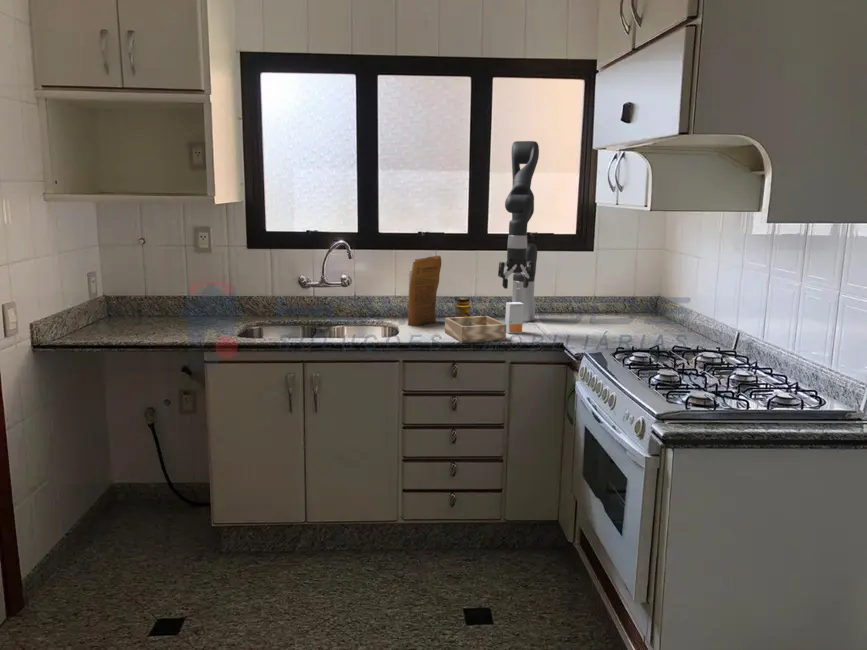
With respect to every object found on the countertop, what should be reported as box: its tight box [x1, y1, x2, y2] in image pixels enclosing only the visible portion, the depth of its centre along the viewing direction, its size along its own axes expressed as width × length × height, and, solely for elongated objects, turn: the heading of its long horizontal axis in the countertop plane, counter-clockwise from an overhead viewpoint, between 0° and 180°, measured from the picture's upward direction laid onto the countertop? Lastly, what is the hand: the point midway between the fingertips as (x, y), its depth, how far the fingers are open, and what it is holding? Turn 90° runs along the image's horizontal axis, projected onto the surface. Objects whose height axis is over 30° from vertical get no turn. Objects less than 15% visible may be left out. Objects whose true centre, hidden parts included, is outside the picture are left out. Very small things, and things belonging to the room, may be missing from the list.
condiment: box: [454, 297, 471, 317], centre depth 295 cm, size 7×8×12 cm
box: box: [444, 315, 507, 344], centre depth 279 cm, size 18×18×6 cm
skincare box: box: [504, 301, 524, 334], centre depth 287 cm, size 6×4×12 cm
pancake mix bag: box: [407, 255, 442, 326], centre depth 300 cm, size 7×19×28 cm, turn 135°
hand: (515, 288), depth 285 cm, fingers open, 8 cm apart
